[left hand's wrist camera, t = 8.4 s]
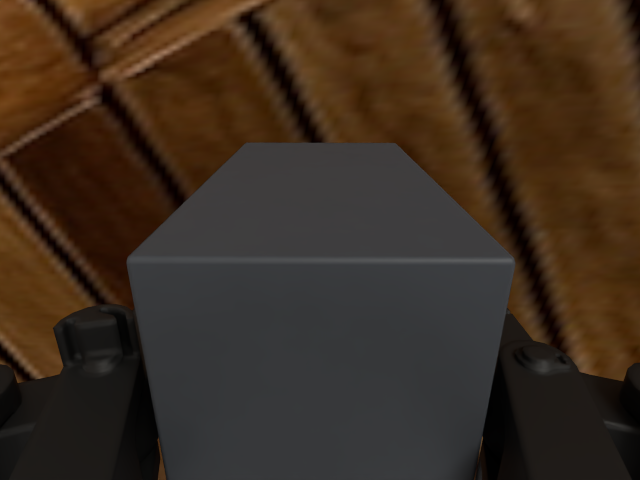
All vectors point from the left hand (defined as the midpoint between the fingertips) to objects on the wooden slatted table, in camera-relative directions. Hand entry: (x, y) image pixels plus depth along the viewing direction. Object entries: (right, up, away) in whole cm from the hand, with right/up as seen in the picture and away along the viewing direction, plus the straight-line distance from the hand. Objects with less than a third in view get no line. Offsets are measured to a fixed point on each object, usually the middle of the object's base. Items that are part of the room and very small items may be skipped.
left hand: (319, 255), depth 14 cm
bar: (0, -7, +3) cm, 8 cm away
